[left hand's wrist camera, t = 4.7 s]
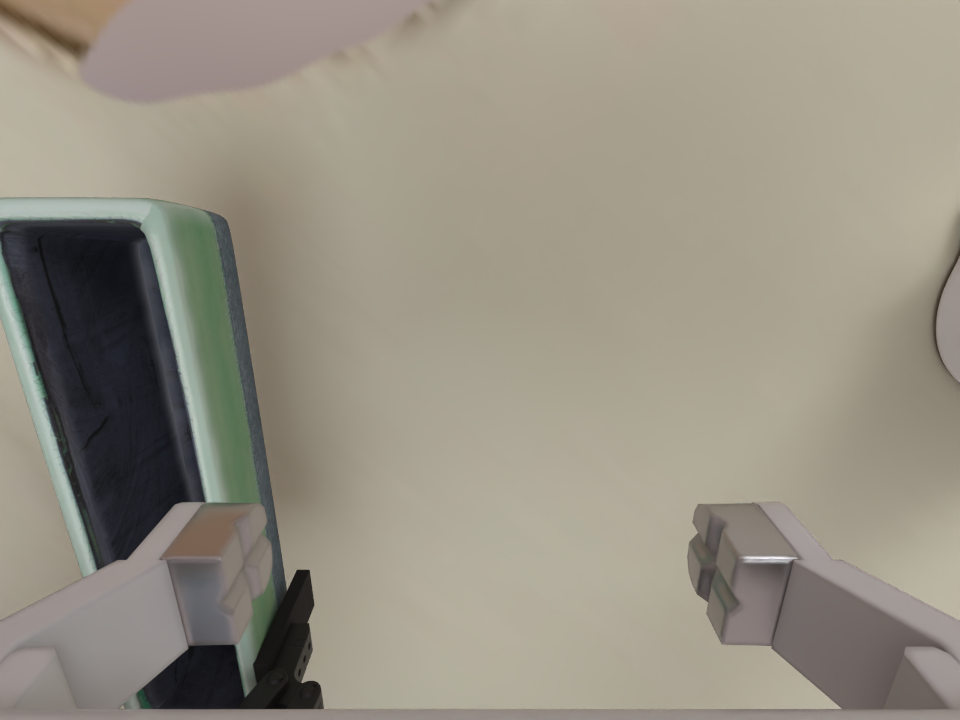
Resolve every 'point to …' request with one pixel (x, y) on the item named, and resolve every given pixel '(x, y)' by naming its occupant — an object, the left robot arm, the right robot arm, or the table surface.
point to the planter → (140, 392)
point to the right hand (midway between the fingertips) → (241, 587)
